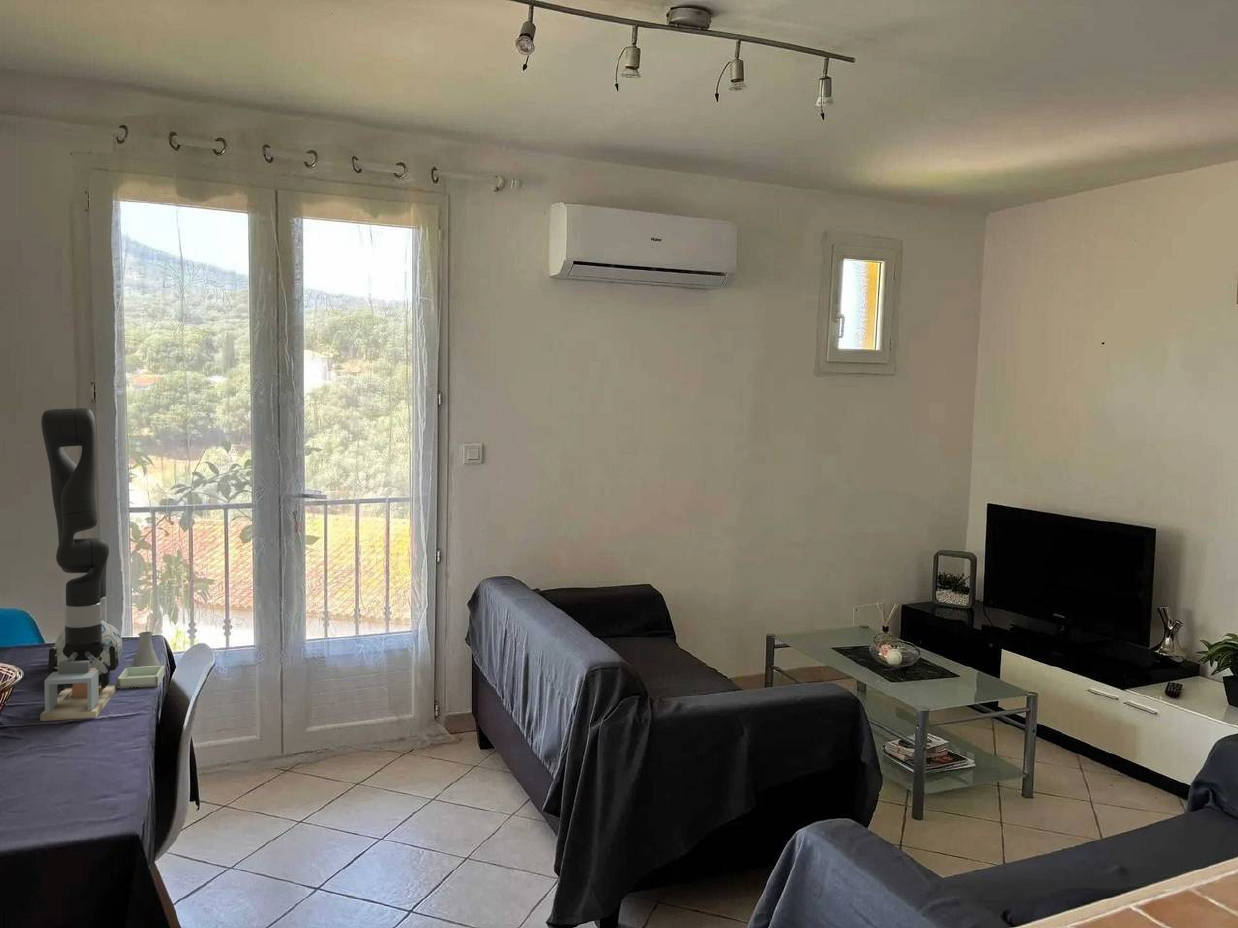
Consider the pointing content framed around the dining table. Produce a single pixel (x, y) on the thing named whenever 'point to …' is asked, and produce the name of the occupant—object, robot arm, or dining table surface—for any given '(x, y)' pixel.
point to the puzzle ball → (108, 638)
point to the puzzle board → (77, 705)
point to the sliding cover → (72, 674)
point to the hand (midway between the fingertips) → (84, 688)
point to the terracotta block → (80, 689)
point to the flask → (145, 652)
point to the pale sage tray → (141, 677)
